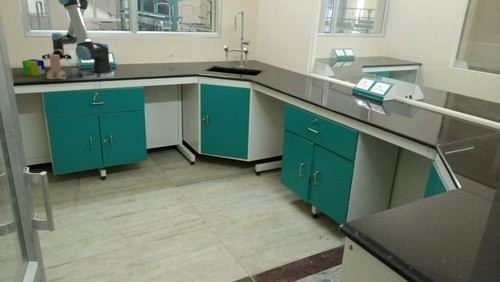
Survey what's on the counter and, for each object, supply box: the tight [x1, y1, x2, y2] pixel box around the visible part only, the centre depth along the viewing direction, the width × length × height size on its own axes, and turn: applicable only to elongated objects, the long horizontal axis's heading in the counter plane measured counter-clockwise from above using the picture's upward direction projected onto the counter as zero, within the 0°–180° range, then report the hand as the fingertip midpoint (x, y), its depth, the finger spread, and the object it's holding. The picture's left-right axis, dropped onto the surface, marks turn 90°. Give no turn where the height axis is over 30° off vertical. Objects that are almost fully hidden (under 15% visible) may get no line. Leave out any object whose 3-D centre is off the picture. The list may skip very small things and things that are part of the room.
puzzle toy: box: [21, 58, 46, 76], centre depth 286 cm, size 10×10×10 cm
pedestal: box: [45, 70, 67, 80], centre depth 278 cm, size 12×12×5 cm
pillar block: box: [49, 54, 62, 73], centre depth 275 cm, size 6×6×12 cm
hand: (56, 58), depth 283 cm, fingers open, 13 cm apart
